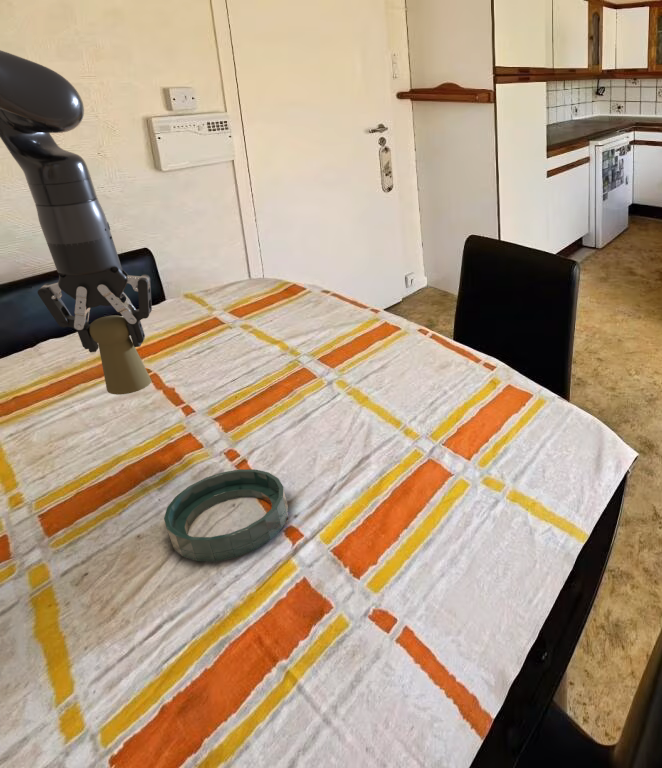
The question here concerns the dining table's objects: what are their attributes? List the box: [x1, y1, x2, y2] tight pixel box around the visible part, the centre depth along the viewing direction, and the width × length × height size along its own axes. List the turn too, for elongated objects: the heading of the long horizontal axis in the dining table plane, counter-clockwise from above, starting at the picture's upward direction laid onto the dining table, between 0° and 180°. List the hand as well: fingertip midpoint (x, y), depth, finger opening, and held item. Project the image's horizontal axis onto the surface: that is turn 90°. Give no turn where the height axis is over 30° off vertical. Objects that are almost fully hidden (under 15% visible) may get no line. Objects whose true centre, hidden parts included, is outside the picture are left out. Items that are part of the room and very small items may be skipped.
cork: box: [89, 314, 152, 396], centre depth 93 cm, size 6×6×11 cm
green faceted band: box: [163, 468, 289, 562], centre depth 87 cm, size 15×15×5 cm
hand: (116, 347), depth 93 cm, fingers closed on cork, 5 cm apart
